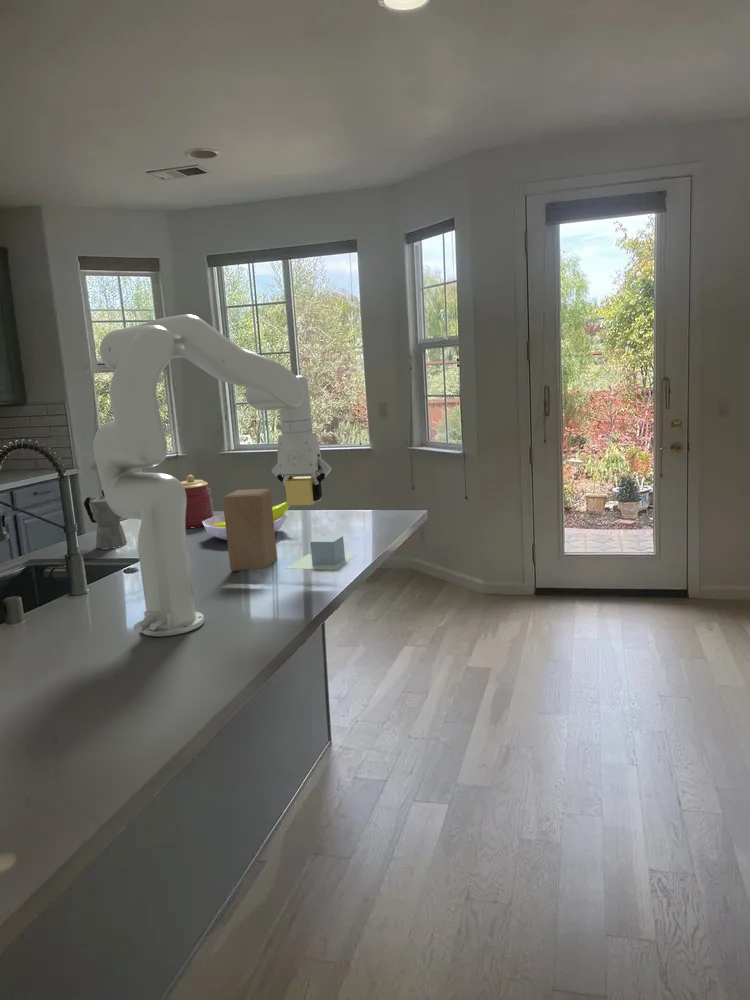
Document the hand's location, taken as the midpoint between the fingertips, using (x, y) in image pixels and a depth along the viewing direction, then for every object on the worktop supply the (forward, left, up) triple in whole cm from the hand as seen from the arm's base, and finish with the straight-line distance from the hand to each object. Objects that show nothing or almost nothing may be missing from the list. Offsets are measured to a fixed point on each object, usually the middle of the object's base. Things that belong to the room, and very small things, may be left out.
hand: (304, 499), depth 181 cm
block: (+3, +17, -19) cm, 26 cm away
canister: (+53, +67, -19) cm, 87 cm away
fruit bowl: (+37, +37, -19) cm, 56 cm away
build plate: (+6, -1, -18) cm, 19 cm away
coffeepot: (+23, +80, -19) cm, 85 cm away
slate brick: (+6, -3, -17) cm, 18 cm away
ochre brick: (0, 0, -1) cm, 1 cm away
